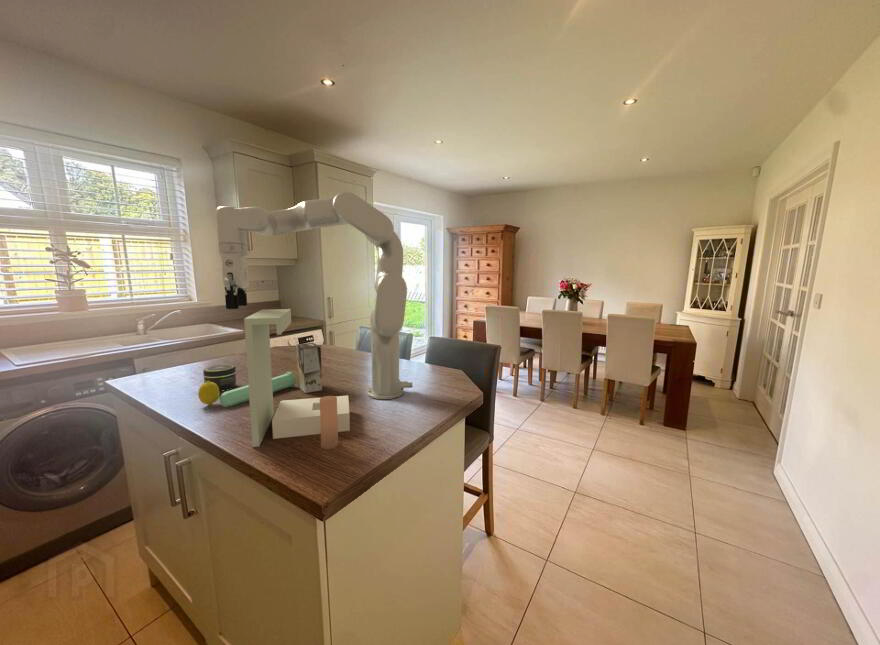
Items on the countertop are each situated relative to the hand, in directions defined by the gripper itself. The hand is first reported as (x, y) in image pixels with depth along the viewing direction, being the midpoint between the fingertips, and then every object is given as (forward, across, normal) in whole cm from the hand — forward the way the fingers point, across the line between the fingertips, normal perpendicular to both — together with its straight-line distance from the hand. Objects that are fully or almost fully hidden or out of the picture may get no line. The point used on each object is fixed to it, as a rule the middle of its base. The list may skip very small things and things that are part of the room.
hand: (237, 307), depth 107 cm
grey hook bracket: (+31, -21, -13) cm, 39 cm away
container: (+32, +8, -3) cm, 33 cm away
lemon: (+31, +2, +10) cm, 33 cm away
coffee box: (+32, +12, -19) cm, 39 cm away
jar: (+32, +20, +12) cm, 39 cm away
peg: (+31, -34, -27) cm, 53 cm away
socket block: (+31, -20, -22) cm, 43 cm away
